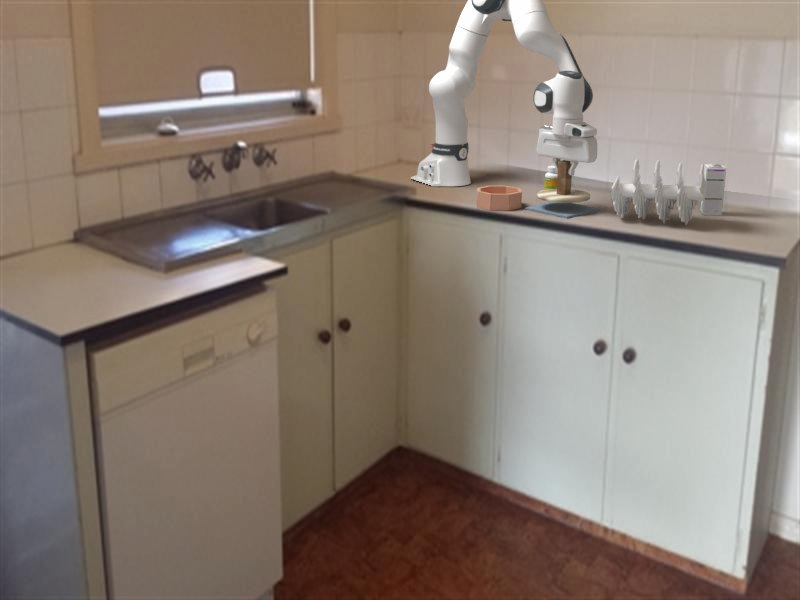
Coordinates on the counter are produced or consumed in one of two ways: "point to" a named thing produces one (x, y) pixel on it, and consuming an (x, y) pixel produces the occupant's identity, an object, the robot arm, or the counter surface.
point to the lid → (563, 188)
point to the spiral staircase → (658, 195)
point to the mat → (562, 209)
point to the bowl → (499, 198)
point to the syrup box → (713, 189)
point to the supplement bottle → (550, 178)
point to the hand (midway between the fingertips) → (564, 174)
